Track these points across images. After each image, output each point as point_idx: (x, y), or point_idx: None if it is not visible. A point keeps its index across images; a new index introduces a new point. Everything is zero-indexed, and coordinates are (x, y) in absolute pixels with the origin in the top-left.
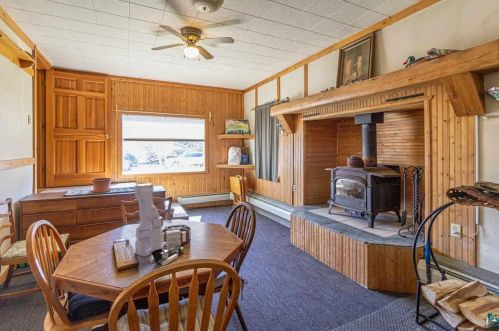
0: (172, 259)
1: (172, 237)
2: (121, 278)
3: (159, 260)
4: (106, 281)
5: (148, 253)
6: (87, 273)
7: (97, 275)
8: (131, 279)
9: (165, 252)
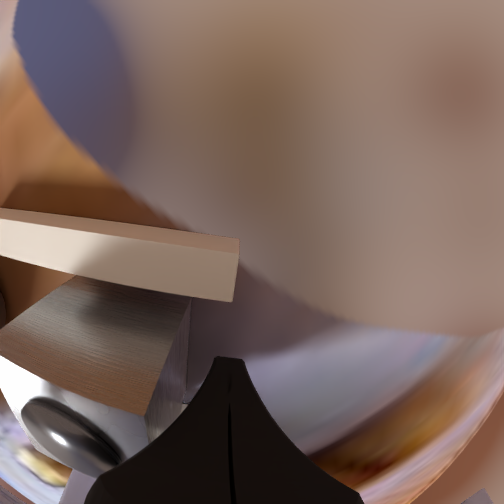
0: (53, 216)
1: None
2: (472, 395)
3: (181, 363)
4: (477, 418)
5: (483, 500)
6: (395, 498)
7: (418, 476)
8: (495, 339)
9: (43, 370)
